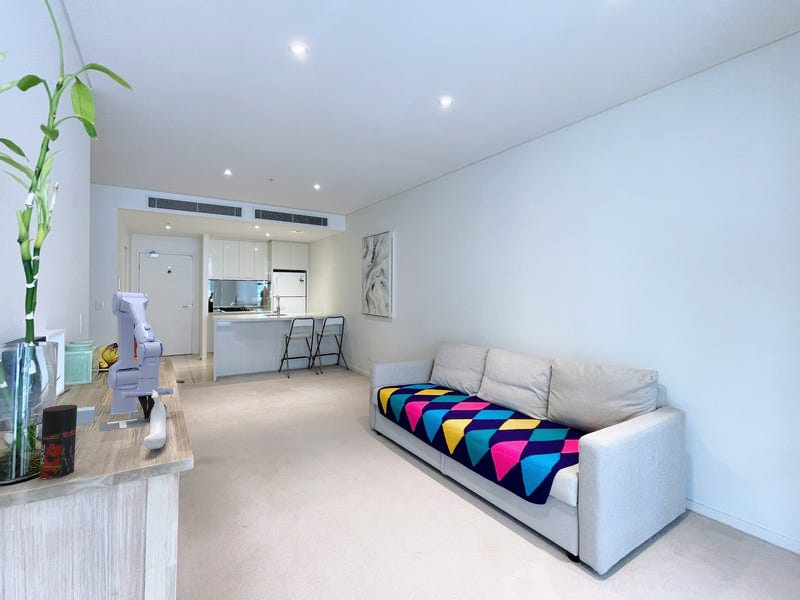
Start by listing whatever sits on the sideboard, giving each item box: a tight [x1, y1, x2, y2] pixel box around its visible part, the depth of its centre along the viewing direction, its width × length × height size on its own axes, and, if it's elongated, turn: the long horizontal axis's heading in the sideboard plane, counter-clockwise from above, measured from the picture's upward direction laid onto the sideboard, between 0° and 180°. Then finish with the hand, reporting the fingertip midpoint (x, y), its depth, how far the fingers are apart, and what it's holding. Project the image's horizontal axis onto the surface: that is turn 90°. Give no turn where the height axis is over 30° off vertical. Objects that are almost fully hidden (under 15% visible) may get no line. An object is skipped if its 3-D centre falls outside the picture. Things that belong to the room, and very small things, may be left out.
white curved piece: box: [142, 390, 167, 450], centre depth 106 cm, size 5×19×15 cm, turn 30°
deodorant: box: [39, 404, 78, 480], centre depth 88 cm, size 6×6×15 cm
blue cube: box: [76, 406, 96, 426], centre depth 125 cm, size 5×5×5 cm
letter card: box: [98, 416, 147, 433], centre depth 124 cm, size 12×12×1 cm
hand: (146, 418), depth 128 cm, fingers closed
